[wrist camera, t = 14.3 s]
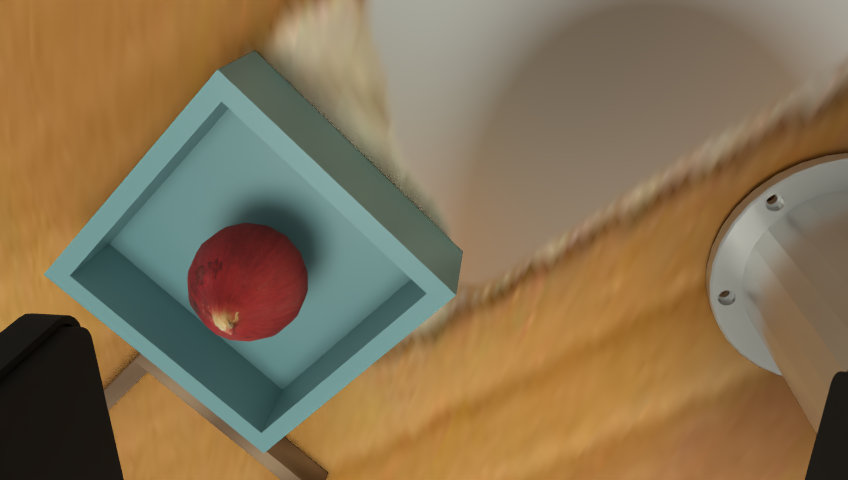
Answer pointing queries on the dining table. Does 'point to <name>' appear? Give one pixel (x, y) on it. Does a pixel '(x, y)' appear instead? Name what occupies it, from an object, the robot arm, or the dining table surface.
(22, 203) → the dining table surface
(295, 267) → the onion
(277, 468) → the frame
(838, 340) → the robot arm
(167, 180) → the bin
